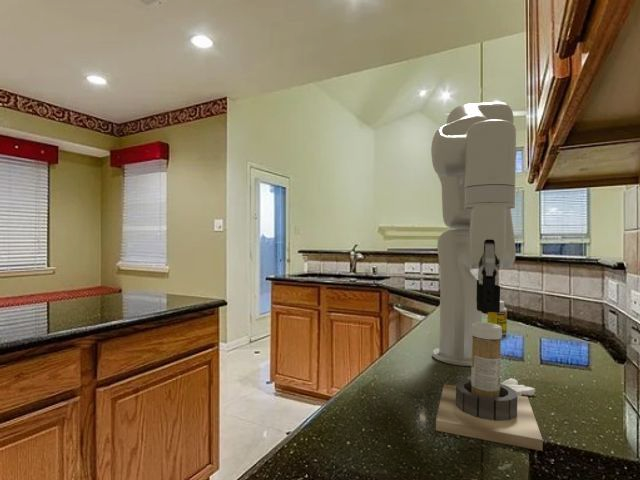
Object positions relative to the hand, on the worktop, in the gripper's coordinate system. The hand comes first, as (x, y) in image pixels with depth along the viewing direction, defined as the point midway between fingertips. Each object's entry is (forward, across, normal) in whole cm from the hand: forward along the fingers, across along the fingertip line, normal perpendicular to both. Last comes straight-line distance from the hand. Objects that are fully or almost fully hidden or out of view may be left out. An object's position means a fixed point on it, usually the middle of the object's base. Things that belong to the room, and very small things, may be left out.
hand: (487, 306), depth 63 cm
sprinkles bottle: (+17, 0, 0) cm, 17 cm away
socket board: (+18, 0, 0) cm, 18 cm away
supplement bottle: (+18, -66, +5) cm, 69 cm away
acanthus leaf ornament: (+19, -15, +5) cm, 24 cm away
